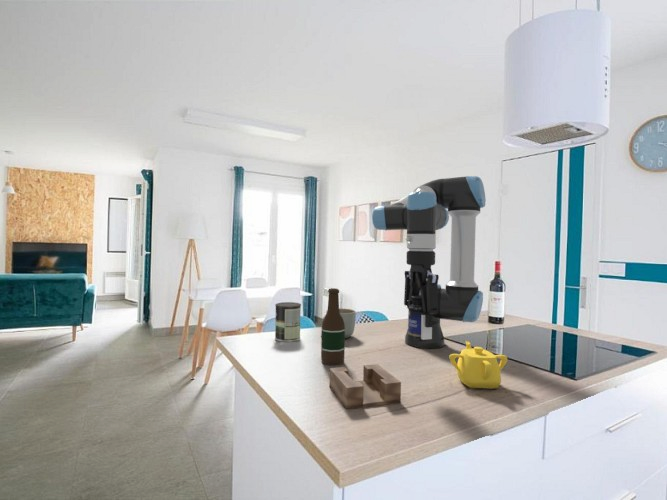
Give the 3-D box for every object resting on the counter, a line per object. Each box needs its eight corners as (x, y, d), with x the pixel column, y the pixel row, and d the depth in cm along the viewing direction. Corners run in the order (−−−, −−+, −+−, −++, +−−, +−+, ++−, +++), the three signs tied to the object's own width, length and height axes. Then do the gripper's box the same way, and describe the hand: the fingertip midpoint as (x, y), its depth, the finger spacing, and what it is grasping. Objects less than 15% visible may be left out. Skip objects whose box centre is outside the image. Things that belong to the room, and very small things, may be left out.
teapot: (441, 381, 104) (442, 345, 104) (465, 371, 112) (466, 338, 112) (488, 397, 93) (489, 357, 93) (511, 385, 102) (512, 348, 101)
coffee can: (271, 341, 144) (272, 305, 144) (279, 335, 154) (279, 301, 154) (297, 342, 143) (297, 306, 143) (302, 336, 153) (303, 302, 153)
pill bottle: (403, 335, 100) (404, 295, 100) (421, 333, 103) (422, 294, 102) (417, 341, 95) (417, 298, 94) (436, 339, 97) (436, 297, 97)
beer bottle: (342, 366, 115) (343, 290, 115) (318, 364, 117) (319, 289, 116) (346, 359, 123) (347, 287, 122) (323, 357, 124) (324, 287, 124)
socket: (377, 381, 103) (377, 364, 103) (400, 402, 89) (400, 382, 89) (329, 386, 98) (329, 368, 98) (346, 409, 85) (346, 387, 85)
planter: (324, 333, 159) (325, 308, 158) (352, 333, 160) (353, 308, 160) (327, 340, 146) (327, 313, 146) (357, 340, 148) (358, 313, 148)
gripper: (392, 249, 106) (391, 328, 107) (427, 251, 88) (426, 346, 88) (415, 249, 108) (414, 327, 109) (454, 251, 90) (453, 344, 91)
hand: (419, 335), depth 99 cm, fingers closed on pill bottle, 6 cm apart
